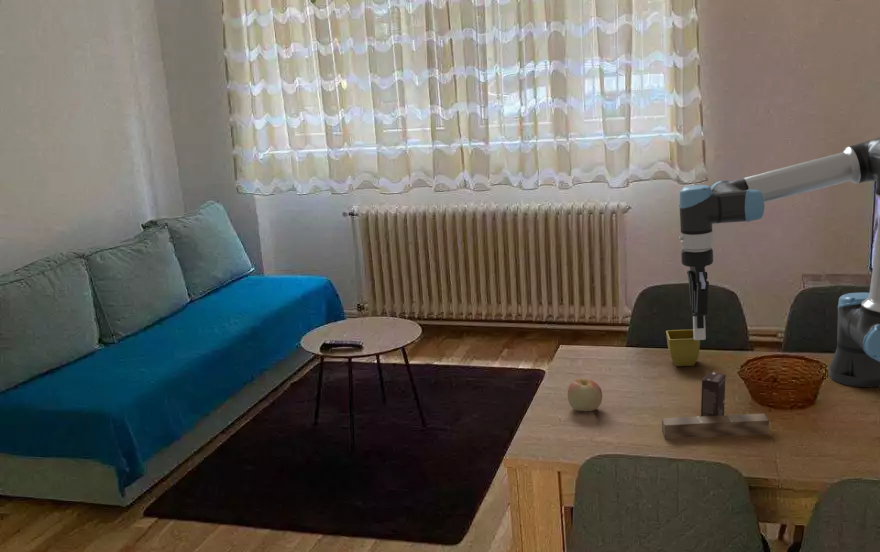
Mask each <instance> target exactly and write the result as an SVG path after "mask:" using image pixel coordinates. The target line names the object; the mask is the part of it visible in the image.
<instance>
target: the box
mask: <svg viewBox="0 0 880 552" xmlns="http://www.w3.org/2000/svg"><path fill="white" fill-rule="evenodd" d="M725 399H726V374H724V373H719V372H718V373H717V372H714V371H709V372H707V374H705V376H704V378H702V379H701V399H700V403H701V404H700V405H701V407H700V416H721V415H725V404H726V403H725V401H726V400H725Z"/></svg>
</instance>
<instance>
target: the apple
mask: <svg viewBox="0 0 880 552" xmlns="http://www.w3.org/2000/svg"><path fill="white" fill-rule="evenodd" d="M567 399H568V403H569V405H570V407H571V408H572V409H573V410H575V411H579V412H593V411H594V412H595V411H596V410H597V409H599V407H600V406H601V404H602V402H603V392H602V388H601V387H600V386H599V384H598V383H596V382H595V381H593V380H592V379H591V380H590V379H587V378H576V379H575V380H573V381H572V382H571V383H569V385H568V390H567Z"/></svg>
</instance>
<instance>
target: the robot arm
mask: <svg viewBox="0 0 880 552" xmlns="http://www.w3.org/2000/svg"><path fill="white" fill-rule="evenodd" d="M848 182H851V183H852V184H855V185H856V184H861V183H865V182H876V186H875V194H874V195H875V196H876V197H877V199H878V200H880V137H876V138H873V139H871V140H867V141H863V142H859V143H857V144H853V145H849V146H846V147H845V148H844V150H843V151H842V152H838V153H834V154H830V155H826V156H823V157H819V158H815V159H811V160H808V161H803V162H800V163H796V164H792V165H789V166H785V167H780V168H777V169H772V170H769V171H766V172H762V173H759V174H753V175H751V176H746V177H743V178H739V179H735V180H734V179H733V180H730V181H728V180H718V181H717V182H715V183H714V184H712V185H711V186H709V185H707V184H692V185H691V184H690V185H686V186H684V187H682V188H681V190H680V191H679V204H678V205H679V221H680V222H679V225H680V236H678V240H679V241H680V247H681V248H682V250H681V251H680V253H681V255H680V256H681V265H683V266H685V267H689V269H688V270H686V271H687V272H686V274H687V277H688V288H689V290H688V291H689V302H690V307H689V308H690V309H691V317H692V330H693V338H694V340H700V341H704V340H706V337H707V334H706V332H707V331H706V316H708V301H709V299H708V298H709V297H708V296H709V294H708V293H709V287H710V286H709V285H710V283H709V280H707V279H708V271H706V269H705V268H706V267H707V266H711V265H713V263H714V250H713V248H712V247H713V246H714V236H713V235H714V234H713V233H714V231H713V224H715V225H716V224H727V223H739V222H741V223H742V222H743V223H744V222H748V223H749V222H753V221H759V220H761V219H762V218H763V217H764V214H765V203H769V202H772V201H777V200H781V199H784V198H789V197H792V196H796V195H800V194H804V193H808V192H813V191H816V190H820V189H825V188H829V187H832V186H835V185H840V184H844V183H848ZM872 264H873V265H872V273H871V280H870V286H869V292H849V293H845V294H842V295H840V297H839V298H838V304H837V331H836V332H837V335H836V337H837V338H836V350H835V351H834V354H833V357H832V359H831V362H830V364H829V366H828V367H829V368H828V376H829V378H830V379H831V380H833V381H834V382H837V383H839V384H842V385H846V386H851V387H860V388H876V387H880V216H879V217H878V224H877V232H876V240H875V248H874V256H873V263H872Z"/></svg>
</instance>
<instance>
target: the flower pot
mask: <svg viewBox="0 0 880 552" xmlns="http://www.w3.org/2000/svg"><path fill="white" fill-rule="evenodd" d="M665 333H666V343H667V348H668V353H669V355H670V358H671V360H672V362H673V364H674V366H676V367H691V366H692V367H693V366H695V364H696V362H697V360H698V358H699V354H700V351H701V350H700V349H701V348H700V347H701V340H694V338H693V329H672V330H671V329H670V330H665Z"/></svg>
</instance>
